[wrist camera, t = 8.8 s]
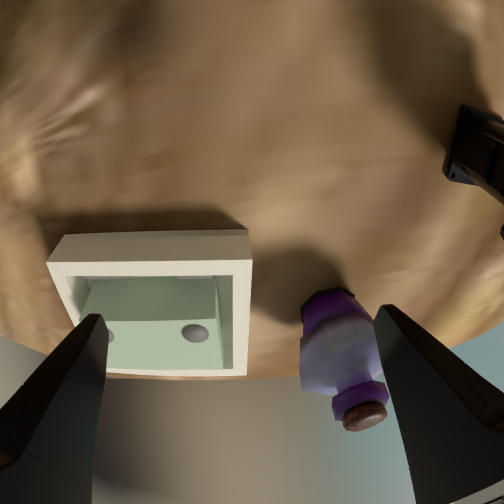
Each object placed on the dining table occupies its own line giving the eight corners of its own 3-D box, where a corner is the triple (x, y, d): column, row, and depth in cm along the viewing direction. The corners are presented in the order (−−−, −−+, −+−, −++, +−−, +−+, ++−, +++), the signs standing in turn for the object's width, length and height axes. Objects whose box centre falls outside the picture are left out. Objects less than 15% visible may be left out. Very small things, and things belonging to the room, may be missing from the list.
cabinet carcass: (248, 229, 22) (252, 259, 19) (243, 345, 30) (246, 375, 27) (64, 234, 20) (46, 262, 17) (106, 343, 28) (99, 371, 25)
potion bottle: (272, 336, 29) (292, 451, 19) (299, 268, 24) (340, 403, 15) (348, 338, 31) (382, 437, 21) (385, 277, 26) (443, 386, 16)
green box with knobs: (215, 274, 23) (215, 320, 19) (221, 326, 26) (223, 369, 23) (95, 280, 22) (78, 322, 18) (116, 328, 26) (106, 369, 22)
